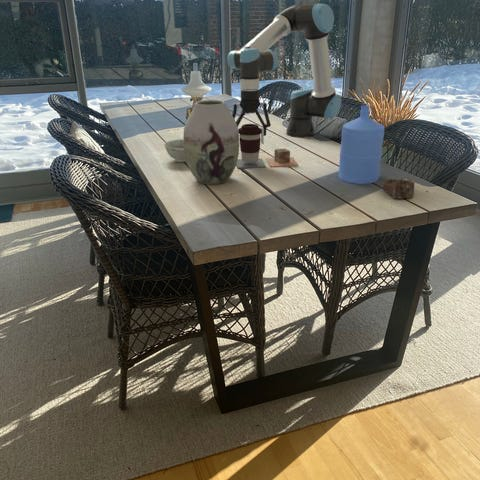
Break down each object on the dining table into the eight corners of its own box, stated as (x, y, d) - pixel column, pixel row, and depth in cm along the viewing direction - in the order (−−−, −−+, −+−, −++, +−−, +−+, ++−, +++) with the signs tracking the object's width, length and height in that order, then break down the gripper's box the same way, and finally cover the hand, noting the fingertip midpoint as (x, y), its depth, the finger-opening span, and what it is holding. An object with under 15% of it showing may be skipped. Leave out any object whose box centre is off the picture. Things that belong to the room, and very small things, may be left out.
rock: (382, 189, 180) (384, 172, 177) (403, 189, 180) (406, 172, 178) (394, 200, 168) (396, 182, 166) (416, 200, 169) (419, 182, 166)
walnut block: (284, 159, 215) (285, 148, 213) (289, 162, 211) (290, 151, 209) (274, 160, 214) (274, 149, 211) (279, 163, 209) (279, 152, 207)
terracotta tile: (292, 159, 218) (292, 157, 218) (298, 166, 208) (298, 165, 207) (266, 160, 217) (266, 158, 217) (270, 167, 207) (270, 166, 206)
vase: (198, 192, 180) (194, 109, 167) (177, 176, 197) (172, 100, 184) (249, 183, 189) (249, 104, 176) (225, 169, 206) (223, 95, 193)
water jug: (371, 188, 182) (379, 111, 170) (331, 181, 190) (337, 107, 178) (384, 176, 194) (392, 104, 182) (346, 170, 202) (352, 101, 190)
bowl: (206, 156, 223) (205, 140, 220) (191, 166, 210) (190, 149, 207) (174, 154, 228) (173, 138, 225) (158, 163, 214) (157, 146, 211)
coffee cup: (259, 164, 205) (259, 128, 199) (236, 163, 207) (235, 127, 201) (263, 157, 214) (263, 123, 208) (241, 156, 216) (240, 122, 209)
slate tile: (261, 160, 217) (261, 158, 217) (265, 168, 206) (265, 166, 206) (234, 161, 216) (234, 159, 216) (237, 169, 205) (237, 167, 205)
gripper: (275, 87, 202) (274, 140, 212) (221, 88, 200) (223, 142, 210) (278, 90, 196) (277, 145, 205) (222, 91, 194) (224, 147, 203)
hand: (250, 143), depth 208 cm, fingers closed on coffee cup, 10 cm apart
